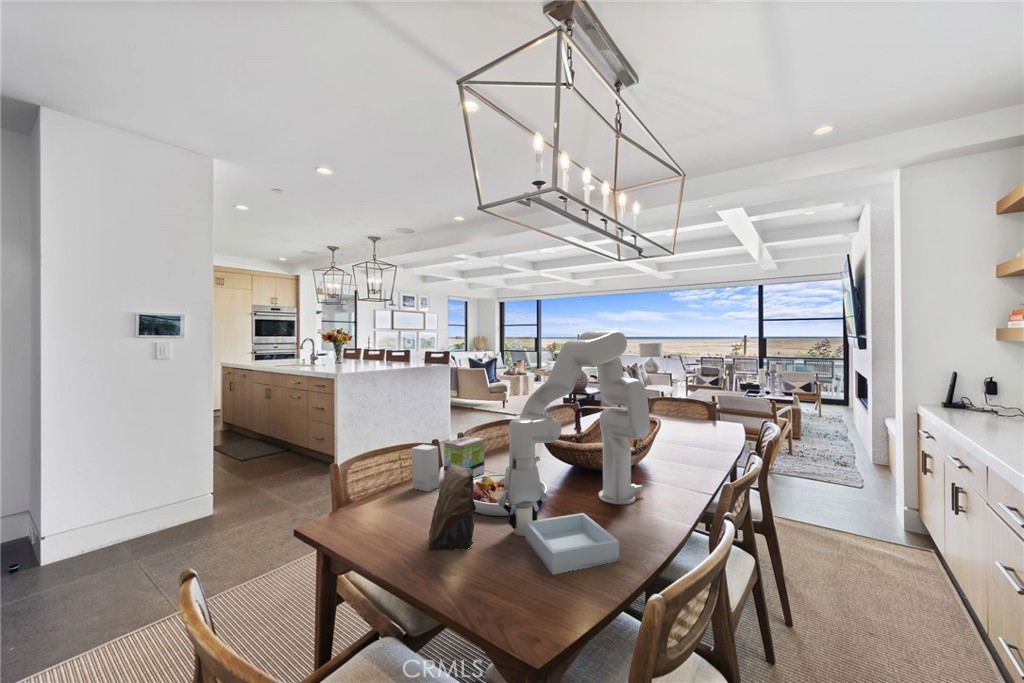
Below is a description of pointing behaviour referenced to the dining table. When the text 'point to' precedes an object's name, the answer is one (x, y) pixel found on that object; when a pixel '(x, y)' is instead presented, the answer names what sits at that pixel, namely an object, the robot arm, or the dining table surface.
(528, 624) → the dining table surface
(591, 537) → the tote
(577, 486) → the dining table surface
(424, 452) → the skincare box
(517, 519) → the canister
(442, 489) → the owl
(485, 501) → the bowl
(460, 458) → the tea box
